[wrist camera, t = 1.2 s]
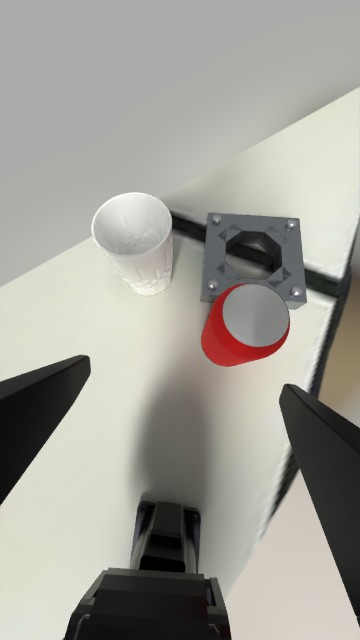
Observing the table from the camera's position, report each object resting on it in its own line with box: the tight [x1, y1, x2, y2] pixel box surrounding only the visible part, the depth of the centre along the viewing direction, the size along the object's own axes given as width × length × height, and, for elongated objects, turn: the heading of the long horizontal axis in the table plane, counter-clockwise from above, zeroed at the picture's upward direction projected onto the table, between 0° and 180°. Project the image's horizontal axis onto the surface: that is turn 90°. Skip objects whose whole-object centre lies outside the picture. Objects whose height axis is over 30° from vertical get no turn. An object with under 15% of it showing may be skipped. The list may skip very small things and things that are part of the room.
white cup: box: [91, 192, 173, 296], centre depth 24 cm, size 8×8×10 cm
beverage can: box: [201, 283, 290, 367], centre depth 19 cm, size 6×6×12 cm
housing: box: [200, 213, 307, 310], centre depth 27 cm, size 13×13×3 cm
